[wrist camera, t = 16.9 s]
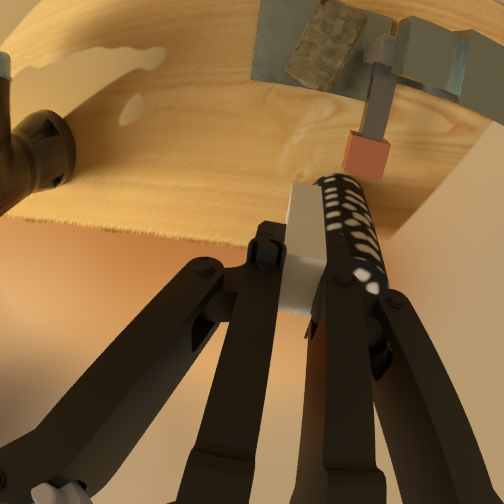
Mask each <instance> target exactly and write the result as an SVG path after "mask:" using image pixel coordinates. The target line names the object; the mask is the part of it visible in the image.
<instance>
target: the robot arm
mask: <svg viewBox="0 0 504 504" xmlns="http://www.w3.org/2000/svg"><path fill="white" fill-rule="evenodd" d="M10 82H12V78H11V59H10V56H9V55H8V54H7V53H5V52H0V217H1V216H2V215H3V214H5V213H6V212H7V211H9V210H10V209H11V208H12V207H14V206H15V205H16V204H18V203H19V202H20V201H22V200H23V199H25V198H26V197H27V196H29V195H30V194H32V193H37V192H41V191H46V190H51V189H54V188H56V187H58V186H59V185H61V184H62V183H64V182H65V181H66V180H67V179H68V178H69V177H70V175H71V174H72V171H73V169H74V165H75V144H74V140H73V137H72V134H71V131H70V129H69V127H68V126H67V124H66V123H65V121H64V120H63V119H62V118H61V117H60V116H59V115H57V114H56V113H55V112H53V111H49V110H40V111H37V112H34V113H32V114H30V115H28V116H26V117H25V118H24V119H23V120H22V121H21V122H20V123H19V124H18V125H17V126H16V127H15V128H14V129H13V130H12V131H11V122H10V121H11V120H10ZM311 309H312V317H311V320H310V323H309V325H308V328H307V331H306V334H305V337H304V338H307V337H308V347H307V364H306V380H305V393H304V405H303V417H302V429H301V438H300V448H299V457H298V466H297V475H296V484H295V488H294V491H293V494H292V496H291V499H290V503H289V504H386V491H387V490H386V489H387V487H386V477H385V475H384V473H383V472H382V471H381V470H380V469H378V468H377V466H376V460H375V425H374V409H373V402H374V405H375V408H376V411H377V414H378V417H379V420H380V424H381V427H382V430H383V433H384V437H385V440H386V443H387V447H388V450H389V454H390V457H391V461H392V465H393V468H394V472H395V476H396V479H397V483H398V487H399V491H400V495H401V498H402V502H403V504H504V503H503V502H502V500H501V499H500V498H499V496H498V495H497V494H496V492H495V491H494V489H493V487H492V484H491V481H490V478H489V475H488V472H487V469H486V466H485V463H484V460H483V457H482V454H481V452H480V449H479V446H478V444H477V441H476V438H475V436H474V434H473V431H472V428H471V426H470V423H469V421H468V418H467V416H466V414H465V411H464V409H463V406H462V404H461V402H460V400H459V398H458V395H457V393H456V391H455V389H454V387H453V384H452V382H451V380H450V378H449V376H448V374H447V371H446V369H445V367H444V365H443V363H442V361H441V359H440V357H439V355H438V353H437V351H436V349H435V347H434V345H433V343H432V341H431V339H430V337H429V335H428V334H427V332H426V330H425V328H424V326H423V324H422V323H421V321H420V319H419V317H418V315H417V313H416V312H415V310H414V308H413V306H412V304H411V303H410V301H409V300H408V298H407V297H406V296H405V295H404V294H402V293H401V292H399V291H396V290H394V289H385V290H382V291H381V292H380V293H379V295H376V294H373V293H371V292H368V291H366V290H365V289H363V288H362V287H360V282H359V280H358V278H357V277H356V276H355V275H354V274H353V273H352V267H351V261H350V255H349V250H348V242H347V240H346V239H345V238H344V236H343V235H342V234H338V233H333V232H328V231H325V225H324V212H323V201H322V190H321V186H316V185H311V184H306V183H300V182H295V181H293V183H292V189H291V194H290V199H289V205H288V210H287V215H286V220H285V224H281V223H276V222H270V221H263V222H262V223H261V224H260V225H259V226H258V229H257V233H256V236H255V238H254V239H252V240H251V241H250V242H249V245H248V253H247V261H246V263H245V264H243V265H241V266H238V267H232V268H224V266H223V264H222V263H221V262H220V261H218V260H217V259H214V258H211V257H198V258H194V259H192V260H191V261H189V262H188V263H187V264H186V265H185V266H184V267H183V268H182V269H181V271H179V272H178V273H177V274H176V275H175V277H173V279H172V280H171V281H170V282H169V283H168V284H167V285H166V286H165V287H164V288H163V289H162V290H161V291H160V292H159V293H158V294H157V295H156V296H155V297H154V298H153V299H152V300H151V301H150V302H149V304H147V306H146V307H145V308H144V309H143V310H142V311H141V312H140V313H139V314H138V315H137V316H136V317H135V318H134V319H133V321H132V322H130V324H129V325H128V326H127V327H126V328H125V329H124V330H123V331H122V332H121V333H120V334H119V335H118V336H117V337H116V338H115V340H114V341H113V342H112V343H111V344H110V345H109V346H108V347H107V348H106V349H105V350H104V352H103V353H102V354H101V355H100V356H99V357H98V358H97V359H96V360H95V361H94V363H93V364H92V365H91V366H90V367H89V368H88V369H87V370H86V371H85V372H84V374H83V375H82V376H81V377H80V378H79V379H78V380H77V381H76V383H75V384H74V385H73V386H72V387H71V388H70V389H69V390H68V392H67V393H66V394H65V395H64V396H63V397H62V398H61V400H60V401H59V402H58V403H57V404H56V405H55V406H54V408H53V409H52V410H51V411H50V412H49V413H48V414H47V416H46V417H45V418H44V419H43V420H42V422H41V423H40V424H39V425H38V426H37V427H36V429H34V430H32V431H31V432H29V433H27V434H25V435H24V436H21V437H20V438H18V439H16V440H14V441H12V442H10V443H9V444H7V445H5V446H3V447H1V448H0V504H93V503H92V501H91V500H90V498H91V497H93V496H94V495H95V494H96V493H97V492H99V491H100V490H101V489H102V488H103V487H104V486H105V485H106V484H107V483H108V481H109V480H110V479H111V478H112V477H113V475H114V474H115V473H116V472H117V470H118V469H119V468H120V466H121V465H122V463H123V462H124V461H125V459H126V458H127V456H128V455H129V454H130V452H131V451H132V449H133V448H134V447H135V445H136V444H137V442H138V441H139V440H140V438H141V437H142V435H143V434H144V433H145V431H146V430H147V428H148V427H149V425H150V424H151V423H152V421H153V420H154V418H155V417H156V416H157V414H158V413H159V411H160V410H161V409H162V407H163V406H164V404H165V403H166V401H167V400H168V399H169V397H170V395H171V394H172V393H173V391H174V390H175V388H176V387H177V386H178V384H179V383H180V381H181V380H182V378H183V377H184V376H185V374H186V373H187V371H188V370H189V369H190V367H191V366H192V364H193V363H194V361H195V360H196V358H197V357H198V356H199V354H200V353H201V351H202V350H203V348H204V347H205V345H206V344H207V342H208V341H209V340H210V338H211V337H212V335H213V334H214V332H215V331H216V329H217V328H218V327H219V324H220V322H229V325H228V329H227V333H226V336H225V340H224V343H223V347H222V350H221V354H220V357H219V361H218V365H217V368H216V372H215V375H214V379H213V382H212V386H211V389H210V393H209V397H208V400H207V404H206V407H205V411H204V415H203V418H202V422H201V425H200V429H199V432H198V436H197V439H196V443H195V445H194V447H193V448H192V450H191V452H190V454H189V457H188V460H187V463H186V466H185V470H184V474H183V477H182V481H181V484H180V488H179V491H178V495H177V498H176V501H174V502H171V503H167V504H249V498H250V493H251V488H252V483H253V477H254V470H255V454H256V448H257V443H258V437H259V431H260V425H261V418H262V413H263V406H264V400H265V394H266V387H267V381H268V374H269V367H270V361H271V354H272V347H273V340H274V333H275V326H276V318H277V312H278V310H279V311H284V312H290V313H296V314H302V315H307V316H309V315H310V312H311Z"/></svg>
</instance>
